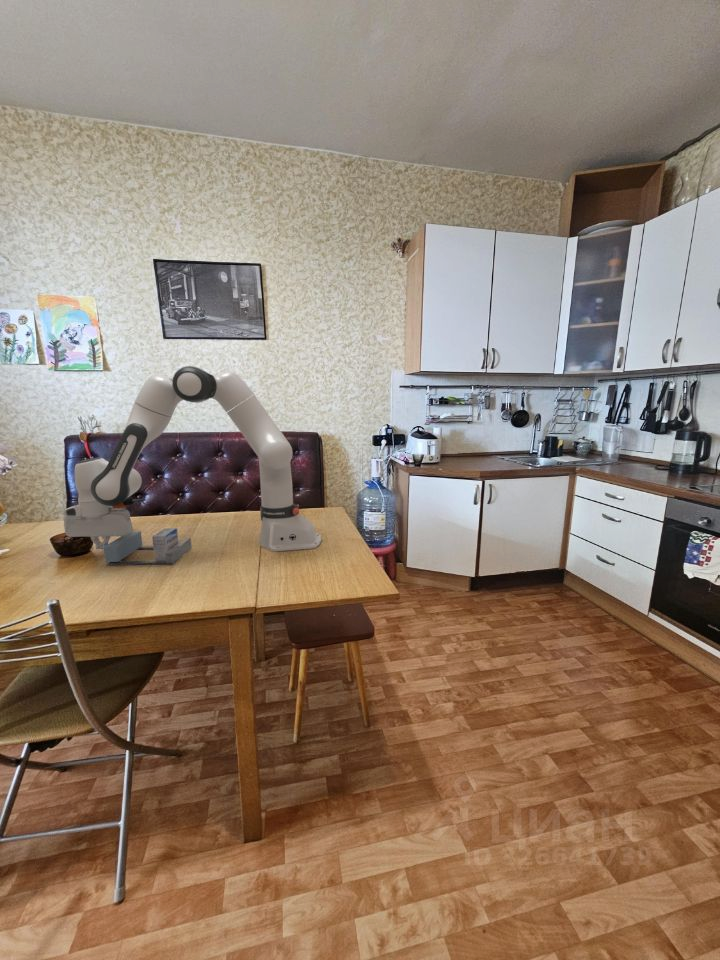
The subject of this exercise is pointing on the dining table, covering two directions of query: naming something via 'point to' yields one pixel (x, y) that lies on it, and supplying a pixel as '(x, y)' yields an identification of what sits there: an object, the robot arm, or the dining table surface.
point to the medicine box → (164, 542)
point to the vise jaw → (122, 547)
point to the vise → (171, 555)
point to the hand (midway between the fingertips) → (102, 548)
